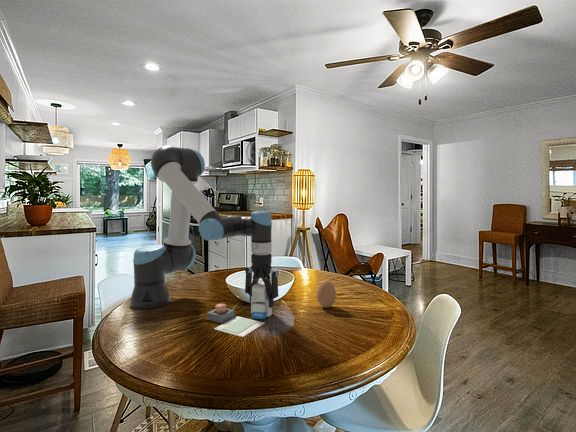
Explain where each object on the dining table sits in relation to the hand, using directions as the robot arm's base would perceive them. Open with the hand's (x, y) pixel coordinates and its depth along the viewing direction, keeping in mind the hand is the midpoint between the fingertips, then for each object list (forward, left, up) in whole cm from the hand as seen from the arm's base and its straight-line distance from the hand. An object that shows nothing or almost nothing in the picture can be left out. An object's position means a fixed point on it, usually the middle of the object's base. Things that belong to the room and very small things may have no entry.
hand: (261, 313), depth 124 cm
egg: (+18, +20, -1) cm, 27 cm away
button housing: (-11, -10, 0) cm, 15 cm away
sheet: (-1, -13, 0) cm, 13 cm away
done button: (-11, -10, +2) cm, 15 cm away
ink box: (0, 0, -1) cm, 1 cm away
